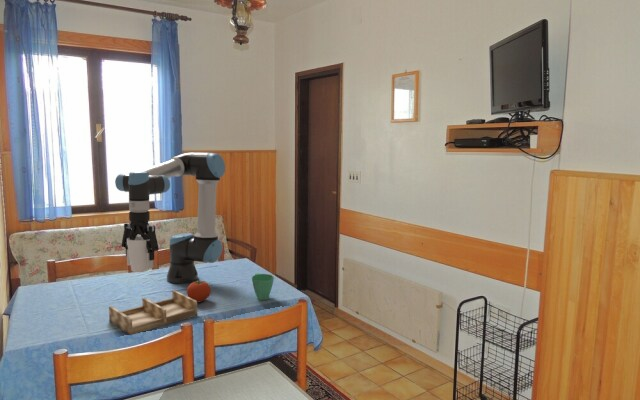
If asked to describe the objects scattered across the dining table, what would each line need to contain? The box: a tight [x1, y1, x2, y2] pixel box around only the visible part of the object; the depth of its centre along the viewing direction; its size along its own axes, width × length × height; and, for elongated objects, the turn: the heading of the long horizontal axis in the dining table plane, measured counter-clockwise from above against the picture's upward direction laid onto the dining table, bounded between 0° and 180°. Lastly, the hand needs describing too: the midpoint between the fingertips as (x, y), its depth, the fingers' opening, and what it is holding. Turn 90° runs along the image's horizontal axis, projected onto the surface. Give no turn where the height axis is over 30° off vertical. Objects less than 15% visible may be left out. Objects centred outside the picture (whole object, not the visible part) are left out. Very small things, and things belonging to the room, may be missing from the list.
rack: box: [108, 289, 198, 336], centre depth 183 cm, size 18×28×6 cm, turn 137°
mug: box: [251, 272, 275, 301], centre depth 210 cm, size 15×10×10 cm
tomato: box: [186, 279, 212, 303], centre depth 202 cm, size 10×10×10 cm
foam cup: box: [127, 235, 150, 273], centre depth 182 cm, size 10×9×13 cm
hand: (140, 266), depth 182 cm, fingers closed on foam cup, 9 cm apart
